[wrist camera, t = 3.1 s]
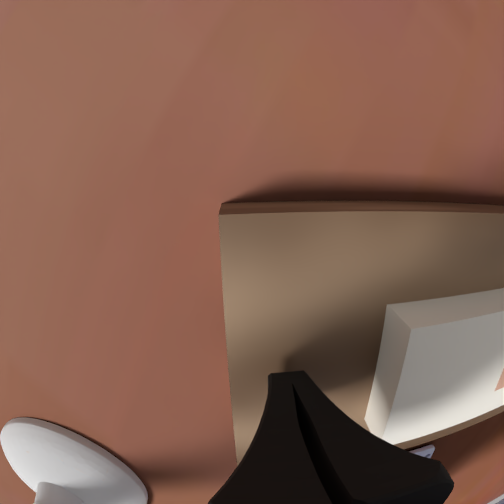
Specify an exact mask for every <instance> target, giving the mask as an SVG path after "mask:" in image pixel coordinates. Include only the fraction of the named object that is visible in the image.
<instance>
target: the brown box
mask: <svg viewBox="0 0 504 504" xmlns="http://www.w3.org/2000/svg"><path fill="white" fill-rule="evenodd" d="M219 233H220V252H221V270H222V286H223V302H224V317H225V331H226V345H227V358H228V370H229V382H230V394H231V405H232V416H233V427H234V437H235V447H236V457H237V466H238V465H239V463H240V462H241V460H242V458H243V457H244V455H245V453H246V451H247V450H248V448H249V446H250V444H251V442H252V440H253V438H254V436H255V433H256V431H257V429H258V426H259V423H260V420H261V417H262V415H263V411H264V408H265V404H266V400H267V395H268V375H269V374H270V373H279V372H291V371H302V370H304V371H305V372H306V373H307V374H308V375H309V377H310V378H311V379H312V380H313V381H314V383H315V384H316V385H317V386H318V387H319V388H320V389H321V391H322V392H323V393H324V394H325V395H326V396H327V397H328V398H329V399H330V400H331V401H332V402H333V403H334V404H335V405H336V406H337V407H338V408H339V409H340V410H342V411H343V412H344V413H345V414H346V415H347V416H349V417H350V418H351V419H352V420H354V421H355V422H356V423H357V424H359V425H360V426H362V427H363V428H364V429H366V430H367V431H369V432H370V430H369V428H368V426H367V424H366V422H365V415H366V411H367V407H368V403H369V398H370V394H371V390H372V385H373V381H374V376H375V371H376V366H377V361H378V356H379V350H380V345H381V339H382V333H383V327H384V321H385V314H386V307H387V305H388V304H397V303H405V302H413V301H421V300H429V299H436V298H443V297H450V296H457V295H464V294H470V293H477V292H483V291H489V290H495V289H501V288H504V205H489V204H470V203H448V202H418V201H275V202H243V203H222V204H221V208H220V212H219ZM503 411H504V405H502V406H500V407H498V408H496V409H494V410H491V411H489V412H487V413H484V414H482V415H480V416H477V417H475V418H472V419H470V420H467V421H465V422H462V423H460V424H457V425H454V426H452V427H449V428H446V429H443V430H440V431H437V432H434V433H431V434H428V435H425V436H422V437H419V438H416V439H412V440H409V441H405V442H402V443H398V444H394V446H397V447H399V448H401V449H407V448H410V447H414V446H417V445H420V444H423V443H426V442H429V441H432V440H435V439H438V438H441V437H444V436H447V435H449V434H452V433H455V432H457V431H460V430H462V429H465V428H467V427H470V426H472V425H475V424H477V423H479V422H482V421H484V420H486V419H488V418H491V417H493V416H495V415H497V414H499V413H501V412H503ZM370 433H371V432H370Z"/></svg>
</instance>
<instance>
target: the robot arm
mask: <svg viewBox="0 0 504 504" xmlns="http://www.w3.org/2000/svg"><path fill="white" fill-rule="evenodd" d="M434 450H435V448H434V446H433V445H428V446H425V447H422V448H419V449H416V450H413V451H406V450H404V449H401V448H399V447H397V446H394V445H392V444H390V443H388V442H387V441H385V440H383V439H381V438H379V437H377V436H375V435H374V434H372V433H370V432H369V431H367V430H366V429H364V428H363V427H362V426H360V425H359V424H357V423H356V422H355V421H354V420H352V419H351V418H350V417H349V416H347V415H346V414H345V413H344V412H343V411H342V410H340V409H339V408H338V407H337V406H336V405H335V404H334V403H333V402H332V401H331V400H330V399H329V398H328V397H327V396H326V395H325V394H324V393H323V392H322V391H321V389H320V388H319V387H318V386H317V385H316V384H315V383H314V381H313V380H312V379H311V378H310V377H309V375H308V374H307V373H306V372H305V371H304V370H302V371H291V372H279V373H270V374H269V375H268V395H267V400H266V404H265V408H264V411H263V415H262V417H261V420H260V423H259V426H258V429H257V431H256V433H255V436H254V438H253V440H252V442H251V444H250V446H249V448H248V450H247V451H246V453H245V455H244V457H243V458H242V460H241V462H240V463H239V465H238V466H237V468H236V469H235V470H234V472H233V473H232V475H231V476H230V477H229V479H228V480H227V481H226V483H225V484H224V485H223V486H222V487H221V488H220V490H219V491H218V492H217V493H216V494H215V495H214V496H213V497H212V498H211V500H210V501H209V502H208V504H443V503H444V502H445V500H446V499H447V498H448V496H449V495H450V493H451V492H452V490H453V487H454V482H453V480H452V479H451V477H450V475H449V473H448V472H447V470H446V469H445V467H444V466H443V465H442V464H441V462H440V461H437V460H433V459H430V458H431V456H432V454H433V452H434ZM496 504H504V499H502V500H501V501H499V502H498V503H496Z"/></svg>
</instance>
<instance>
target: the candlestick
mask: <svg viewBox="0 0 504 504" xmlns="http://www.w3.org/2000/svg"><path fill="white" fill-rule="evenodd" d="M0 440H1V445H2V448H3V451H4V453H5V456H6V458H7V460H8V461H9V463H10V465H11V466H12V468H13V469H14V471H15V472H16V473H17V475H18V476H19V477H20V478H21V479H22V480H23V481H24V482H25V483H26V484H27V485H28V486H29V487H30V488H31V489H32V490H34V491H35V492H36V498H35V502H34V503H33V504H147V500H148V494H147V491H146V488H145V486H144V484H143V483H142V481H141V480H140V479H139V478H138V476H137V475H136V474H135V473H134V472H133V471H132V470H131V469H130V468H129V467H127V466H126V465H125V464H124V463H123V462H121V461H120V460H119V459H118V458H116V457H115V456H113V455H112V454H111V453H109V452H108V451H106V450H105V449H103V448H101V447H100V446H98V445H97V444H95V443H93V442H91V441H90V440H88V439H86V438H84V437H82V436H80V435H78V434H76V433H74V432H72V431H70V430H68V429H65V428H63V427H60V426H58V425H55V424H52V423H49V422H46V421H43V420H39V419H34V418H26V417H20V418H14V419H12V420H10V421H8V422H7V423H6V424H5V426H4V427H3V429H2V431H1V435H0Z"/></svg>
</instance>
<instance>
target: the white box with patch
mask: <svg viewBox="0 0 504 504" xmlns="http://www.w3.org/2000/svg"><path fill="white" fill-rule="evenodd" d="M502 405H504V288H501V289H495V290H489V291H483V292H477V293H470V294H464V295H457V296H450V297H443V298H436V299H429V300H421V301H413V302H405V303H397V304H388V305H387V307H386V314H385V321H384V327H383V333H382V339H381V345H380V350H379V356H378V361H377V366H376V371H375V376H374V381H373V385H372V390H371V394H370V398H369V403H368V407H367V411H366V415H365V422H366V424H367V426H368V428H369V430H370V432H371V433H372V434H374V435H375V436H377V437H379V438H381V439H383V440H385V441H387V442H388V443H390V444H392V445H394V444H398V443H402V442H405V441H409V440H412V439H416V438H419V437H422V436H425V435H428V434H431V433H434V432H437V431H440V430H443V429H446V428H449V427H452V426H454V425H457V424H460V423H462V422H465V421H467V420H470V419H472V418H475V417H477V416H480V415H482V414H484V413H487V412H489V411H491V410H494V409H496V408H498V407H500V406H502Z"/></svg>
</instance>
